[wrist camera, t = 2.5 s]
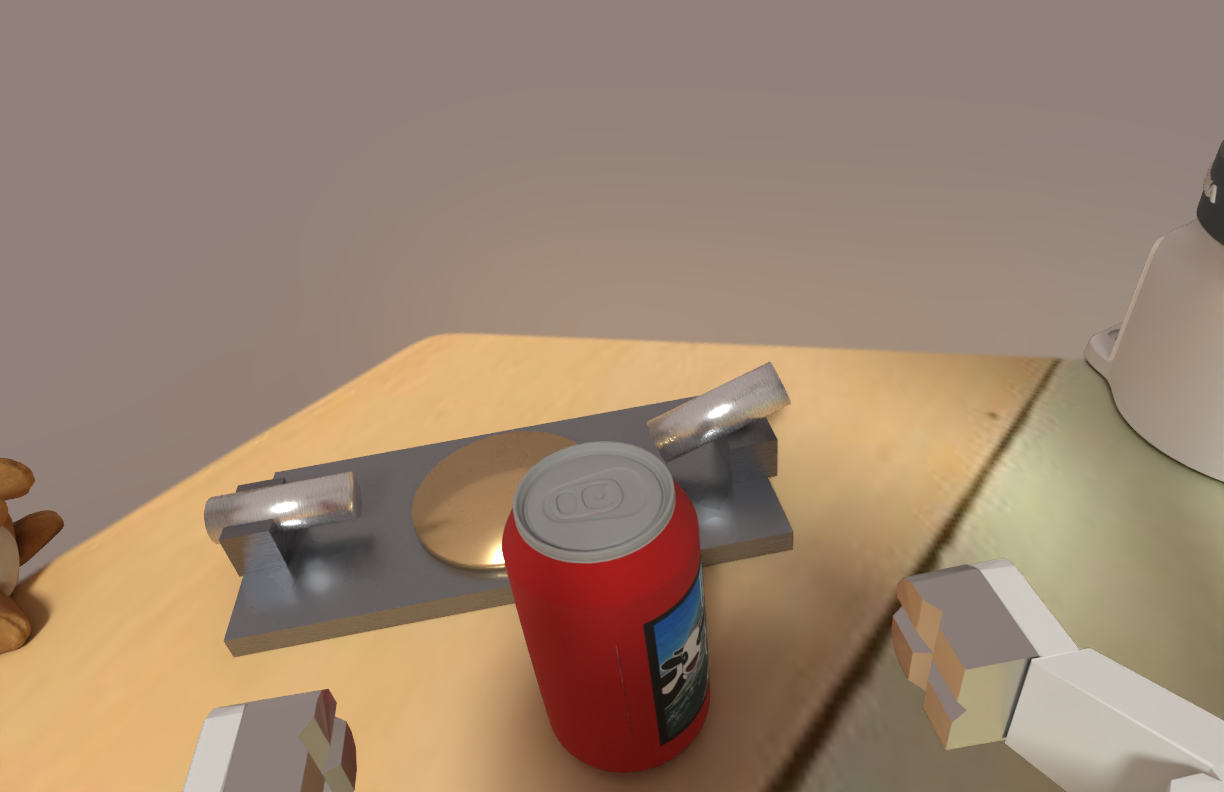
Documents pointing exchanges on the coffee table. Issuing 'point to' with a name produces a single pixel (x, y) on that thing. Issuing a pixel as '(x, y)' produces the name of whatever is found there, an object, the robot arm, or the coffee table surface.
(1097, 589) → the coffee table surface
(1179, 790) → the robot arm
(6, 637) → the squirrel figurine
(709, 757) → the coffee table surface
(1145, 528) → the coffee table surface
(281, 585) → the shaft bed
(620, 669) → the beverage can
